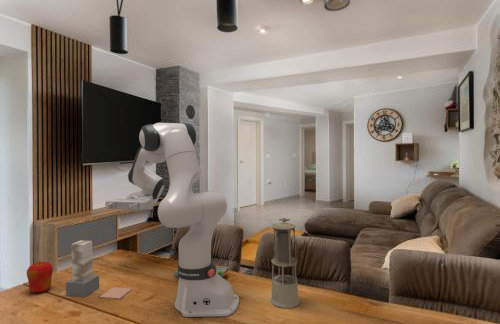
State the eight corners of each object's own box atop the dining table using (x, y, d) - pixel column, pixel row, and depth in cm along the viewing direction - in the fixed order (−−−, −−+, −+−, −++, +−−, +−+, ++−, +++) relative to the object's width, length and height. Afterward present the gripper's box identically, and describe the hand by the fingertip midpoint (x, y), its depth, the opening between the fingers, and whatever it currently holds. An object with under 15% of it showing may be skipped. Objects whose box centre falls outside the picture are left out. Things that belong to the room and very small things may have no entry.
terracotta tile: (131, 290, 122) (131, 288, 122) (119, 299, 114) (119, 298, 114) (113, 288, 123) (113, 287, 123) (99, 298, 116) (99, 296, 116)
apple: (23, 291, 122) (22, 261, 121) (48, 284, 128) (47, 255, 128) (32, 297, 116) (31, 266, 116) (57, 289, 123) (56, 259, 123)
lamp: (268, 307, 108) (268, 220, 107) (272, 290, 121) (272, 213, 120) (299, 309, 106) (299, 221, 105) (299, 292, 119) (299, 213, 118)
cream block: (93, 276, 123) (92, 240, 123) (84, 281, 118) (83, 244, 118) (81, 275, 124) (80, 240, 123) (72, 280, 119) (71, 244, 119)
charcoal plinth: (99, 287, 125) (99, 275, 124) (85, 296, 117) (85, 283, 116) (81, 286, 126) (80, 273, 126) (66, 295, 118) (65, 282, 118)
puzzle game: (188, 260, 142) (229, 265, 136) (188, 270, 142) (229, 276, 136) (173, 269, 131) (217, 275, 125) (174, 280, 131) (218, 287, 125)
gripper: (115, 194, 149) (96, 199, 136) (155, 195, 146) (140, 200, 132) (115, 208, 150) (96, 213, 136) (156, 209, 146) (140, 215, 132)
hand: (118, 207), depth 134 cm, fingers open, 8 cm apart
